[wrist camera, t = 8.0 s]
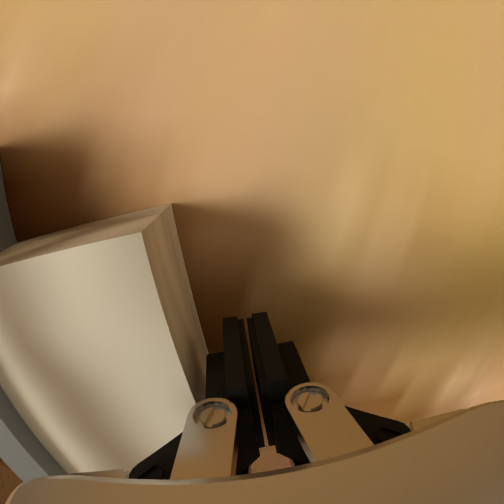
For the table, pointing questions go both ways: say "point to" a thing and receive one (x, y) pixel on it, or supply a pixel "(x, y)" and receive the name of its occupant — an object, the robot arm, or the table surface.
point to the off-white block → (101, 339)
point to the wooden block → (7, 482)
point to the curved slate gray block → (3, 412)
